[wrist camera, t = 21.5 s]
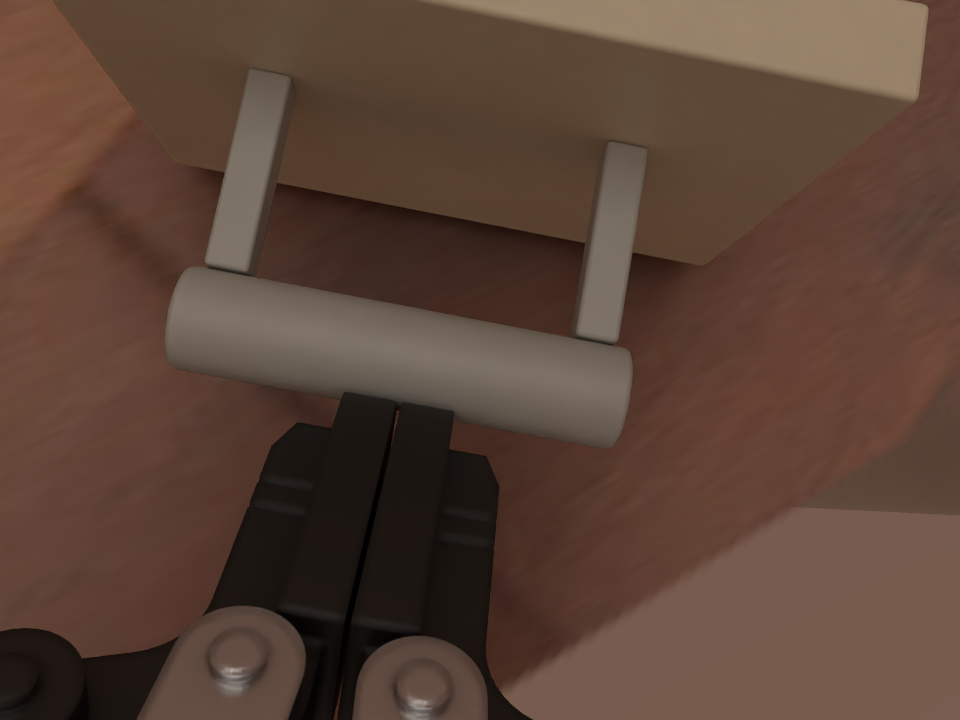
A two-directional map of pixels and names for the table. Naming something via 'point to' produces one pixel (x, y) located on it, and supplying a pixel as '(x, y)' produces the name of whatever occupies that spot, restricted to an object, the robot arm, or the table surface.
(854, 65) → the drawer
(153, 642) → the table surface
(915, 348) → the table surface
